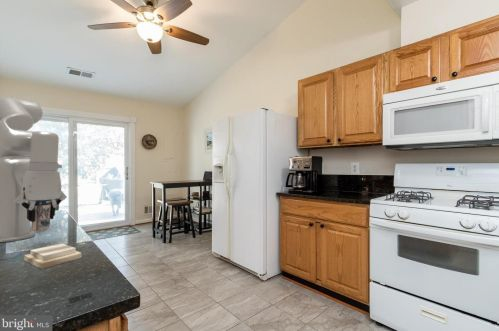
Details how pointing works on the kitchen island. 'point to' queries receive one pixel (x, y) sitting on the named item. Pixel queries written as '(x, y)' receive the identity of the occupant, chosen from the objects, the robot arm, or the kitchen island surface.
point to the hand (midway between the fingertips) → (41, 219)
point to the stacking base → (53, 261)
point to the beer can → (42, 215)
